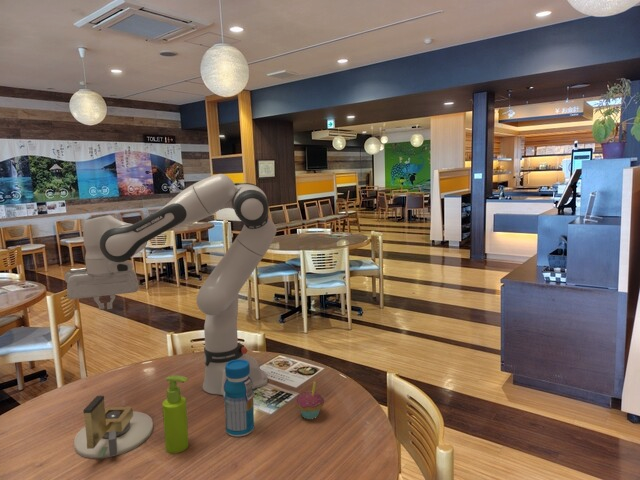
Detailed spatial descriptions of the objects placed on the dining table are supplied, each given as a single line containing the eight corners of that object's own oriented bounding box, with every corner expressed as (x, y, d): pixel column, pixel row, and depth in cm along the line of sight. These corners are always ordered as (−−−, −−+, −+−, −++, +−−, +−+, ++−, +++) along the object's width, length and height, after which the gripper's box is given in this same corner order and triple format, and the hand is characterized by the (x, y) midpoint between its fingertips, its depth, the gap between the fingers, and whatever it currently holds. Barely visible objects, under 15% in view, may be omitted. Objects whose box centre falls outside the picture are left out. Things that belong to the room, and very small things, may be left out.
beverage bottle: (229, 441, 118) (226, 372, 115) (221, 425, 125) (218, 361, 122) (258, 432, 121) (256, 366, 118) (249, 418, 129) (247, 355, 126)
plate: (161, 414, 131) (160, 396, 130) (136, 461, 110) (134, 439, 109) (94, 417, 130) (93, 399, 129) (55, 465, 108) (53, 444, 107)
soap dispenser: (185, 455, 112) (180, 383, 109) (161, 451, 113) (156, 381, 110) (196, 441, 118) (191, 373, 115) (173, 438, 119) (168, 371, 116)
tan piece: (106, 417, 124) (103, 378, 122) (133, 416, 124) (130, 378, 122) (75, 454, 107) (71, 410, 105) (106, 453, 107) (102, 410, 106)
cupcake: (328, 411, 132) (327, 375, 130) (316, 426, 124) (316, 387, 122) (303, 405, 135) (302, 370, 134) (290, 419, 128) (289, 382, 126)
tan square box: (134, 421, 125) (133, 405, 124) (123, 438, 117) (122, 421, 116) (106, 423, 124) (104, 407, 124) (93, 439, 116) (92, 423, 116)
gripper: (62, 271, 127) (66, 316, 129) (136, 265, 135) (140, 307, 137) (65, 267, 132) (69, 310, 134) (136, 261, 141) (139, 302, 143)
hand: (105, 308), depth 136 cm, fingers closed
